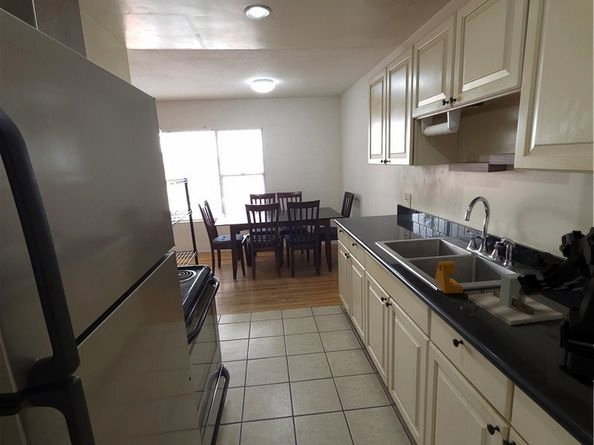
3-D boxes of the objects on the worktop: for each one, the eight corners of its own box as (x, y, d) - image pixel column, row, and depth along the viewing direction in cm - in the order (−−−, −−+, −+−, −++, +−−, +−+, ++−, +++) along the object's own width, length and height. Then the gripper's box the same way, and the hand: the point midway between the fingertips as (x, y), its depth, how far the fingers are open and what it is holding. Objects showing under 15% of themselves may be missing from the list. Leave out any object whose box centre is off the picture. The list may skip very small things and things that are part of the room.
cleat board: (562, 318, 106) (563, 308, 105) (509, 325, 103) (510, 315, 102) (513, 293, 125) (514, 285, 124) (468, 299, 123) (468, 290, 122)
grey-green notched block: (524, 305, 112) (527, 276, 110) (507, 307, 111) (510, 278, 109) (515, 300, 116) (518, 273, 114) (499, 302, 115) (501, 274, 113)
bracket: (463, 294, 126) (465, 265, 124) (444, 295, 127) (445, 266, 125) (452, 284, 137) (453, 257, 135) (434, 284, 138) (435, 257, 135)
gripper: (580, 244, 98) (543, 267, 111) (525, 249, 95) (494, 272, 108) (604, 277, 92) (563, 298, 104) (546, 284, 89) (511, 304, 102)
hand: (532, 292), depth 105 cm, fingers open, 9 cm apart
